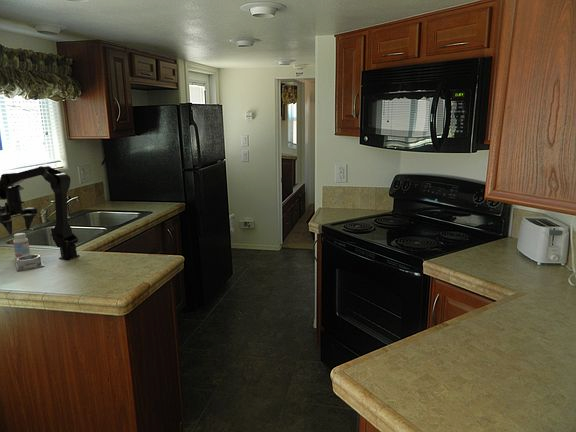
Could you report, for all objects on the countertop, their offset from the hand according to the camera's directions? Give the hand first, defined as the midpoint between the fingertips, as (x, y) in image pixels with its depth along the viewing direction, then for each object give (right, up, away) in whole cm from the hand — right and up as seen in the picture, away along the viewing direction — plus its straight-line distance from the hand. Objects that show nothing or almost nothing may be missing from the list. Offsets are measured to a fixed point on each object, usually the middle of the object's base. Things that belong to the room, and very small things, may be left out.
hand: (19, 232), depth 202 cm
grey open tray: (+11, -14, -11) cm, 21 cm away
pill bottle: (0, -12, +3) cm, 12 cm away
